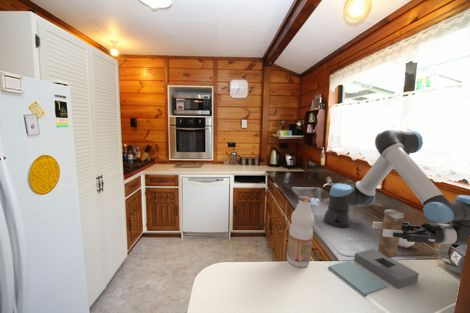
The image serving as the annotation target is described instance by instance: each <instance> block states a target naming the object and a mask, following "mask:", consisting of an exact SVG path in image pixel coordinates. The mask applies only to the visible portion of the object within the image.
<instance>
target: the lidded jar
mask: <svg viewBox="0 0 470 313" xmlns="http://www.w3.org/2000/svg"><path fill="white" fill-rule="evenodd" d="M402 233H403V231H402ZM415 243H416V242H408V241H407V239H402V238H399V243H398V247H401V248H410V247H412V246H414V244H415Z"/></svg>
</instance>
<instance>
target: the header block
mask: <svg viewBox="0 0 470 313" xmlns="http://www.w3.org/2000/svg"><path fill="white" fill-rule="evenodd" d="M353 258H354V259H353V260H354V262H355V263H357V264H359V265H360V266H362V267H363V268H365V269H366V270H368V271H369V272H371V273H373V274H374V275H375V276H377V277H378V278H380V279H382V280H383V281H385V282H387V284H389V285H391V286H392V287H394V288H395V289H402V288H405V287H406V286H407V287H408V286H409V285H412V284H415V283H417V282H418V279H419V275H420V272H417V271H416V270H414V269H412V268H410V267H409V266H407V265H405V264H403V263H401V262H399V261H397V260H396V259H394V258H393V257H392V258H387V257H386V256H384V255H382V254H380V253H378V250H377V249H375V248H369V249H366V250H362V251H358V252H355V253H354V257H353Z"/></svg>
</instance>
